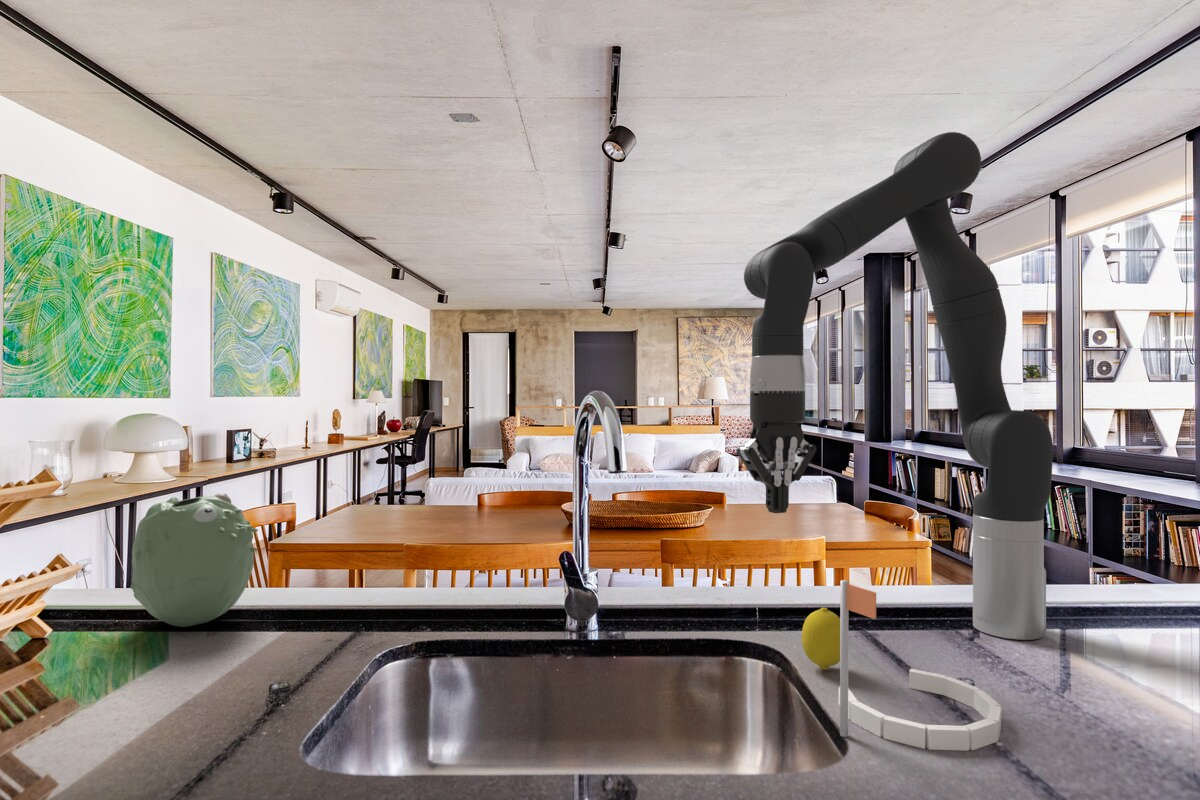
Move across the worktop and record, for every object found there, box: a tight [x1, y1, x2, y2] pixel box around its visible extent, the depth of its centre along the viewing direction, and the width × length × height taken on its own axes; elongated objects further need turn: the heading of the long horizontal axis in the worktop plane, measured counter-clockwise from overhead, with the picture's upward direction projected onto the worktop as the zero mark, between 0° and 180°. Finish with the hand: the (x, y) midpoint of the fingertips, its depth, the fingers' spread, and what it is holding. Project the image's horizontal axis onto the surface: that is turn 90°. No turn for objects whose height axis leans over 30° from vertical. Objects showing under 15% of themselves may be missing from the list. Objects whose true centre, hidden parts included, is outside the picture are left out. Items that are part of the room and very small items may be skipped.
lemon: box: [801, 607, 840, 671], centre depth 90 cm, size 6×6×8 cm
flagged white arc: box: [838, 579, 1002, 752], centre depth 75 cm, size 19×14×16 cm
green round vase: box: [129, 493, 259, 628], centre depth 107 cm, size 16×19×20 cm
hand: (777, 512), depth 98 cm, fingers closed
